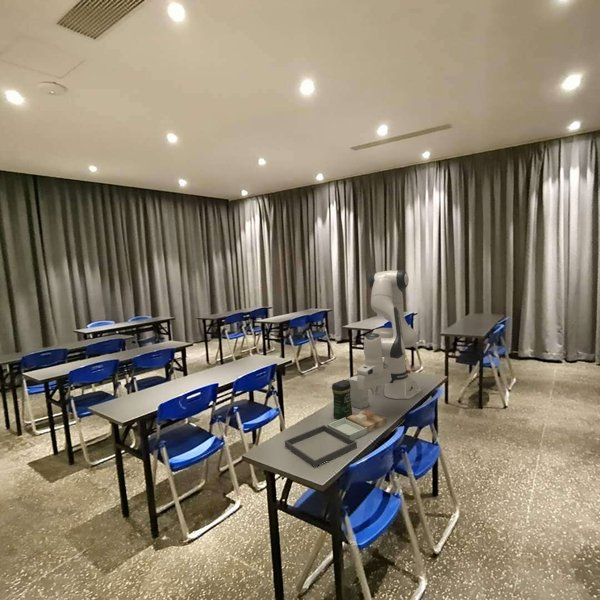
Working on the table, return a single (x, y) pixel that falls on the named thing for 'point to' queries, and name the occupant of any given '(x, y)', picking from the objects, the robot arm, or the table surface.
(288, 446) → the mat rim
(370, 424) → the oak board
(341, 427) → the tray
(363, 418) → the cream tile
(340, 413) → the coffee jar
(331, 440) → the table surface
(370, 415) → the terracotta tile
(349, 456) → the table surface
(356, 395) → the skincare box
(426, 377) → the table surface
